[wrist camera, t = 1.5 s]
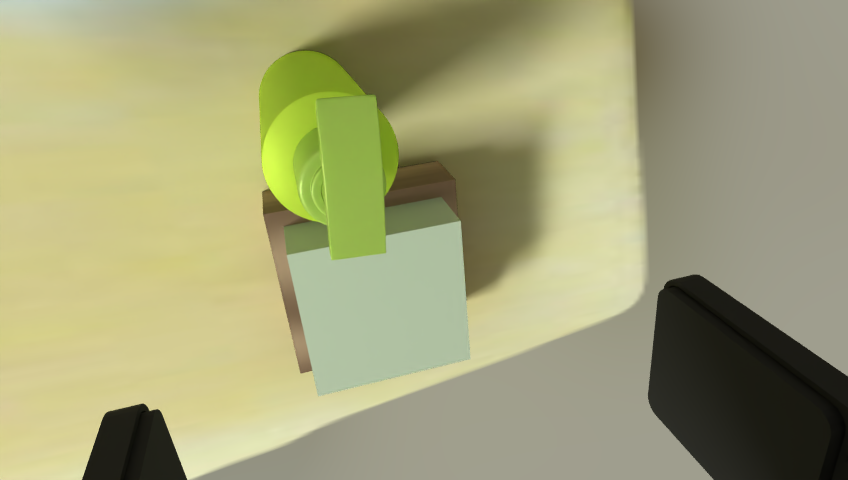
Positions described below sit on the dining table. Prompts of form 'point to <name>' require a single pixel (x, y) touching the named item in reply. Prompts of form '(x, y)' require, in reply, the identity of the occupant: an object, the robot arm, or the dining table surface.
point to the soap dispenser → (327, 151)
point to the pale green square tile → (382, 298)
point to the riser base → (405, 189)
